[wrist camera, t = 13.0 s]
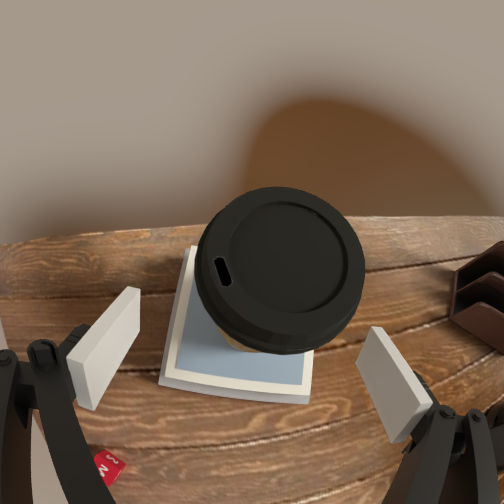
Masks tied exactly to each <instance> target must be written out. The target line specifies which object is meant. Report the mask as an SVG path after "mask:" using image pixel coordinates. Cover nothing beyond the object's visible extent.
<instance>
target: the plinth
mask: <svg viewBox="0 0 504 504" xmlns="http://www.w3.org/2000/svg"><path fill="white" fill-rule="evenodd" d="M197 247H198V246H192V245H191V249H186V251H185V255H184V259H183V263H182V268H181V272H180V276H179V281H178V285H177V289H176V294H175V298H174V303H173V308H172V313H171V317H170V322H169V327H168V332H167V338H166V343H165V348H164V354H163V359H162V365H161V371H160V377H159V383H158V385H162V386H167V387H172V388H176V389H181V390H187V391H192V392H198V393H203V394H209V395H216V396H223V397H230V398H238V399H246V400H255V401H266V402H278V403H294V404H309V395H310V389H311V378H312V366H313V352H314V350H312V351H308V352H305V353H302V354H293V355H276V354H268V353H251V352H244V351H240V350H238V349H236V348H234V347H232V346H231V345H230V344H229V343H228V342H226V340H225V339H224V338H223V336H222V335H221V333H220V332H219V330H218V328H217V326H216V324H215V323H214V321H213V320H212V318H211V317H210V316H209V314H208V313H207V311H206V310H205V308H204V306H203V304H202V302H201V299H200V297H199V295H198V292H197V288H196V283H195V277H194V259H195V255H196V251H197Z"/></svg>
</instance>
